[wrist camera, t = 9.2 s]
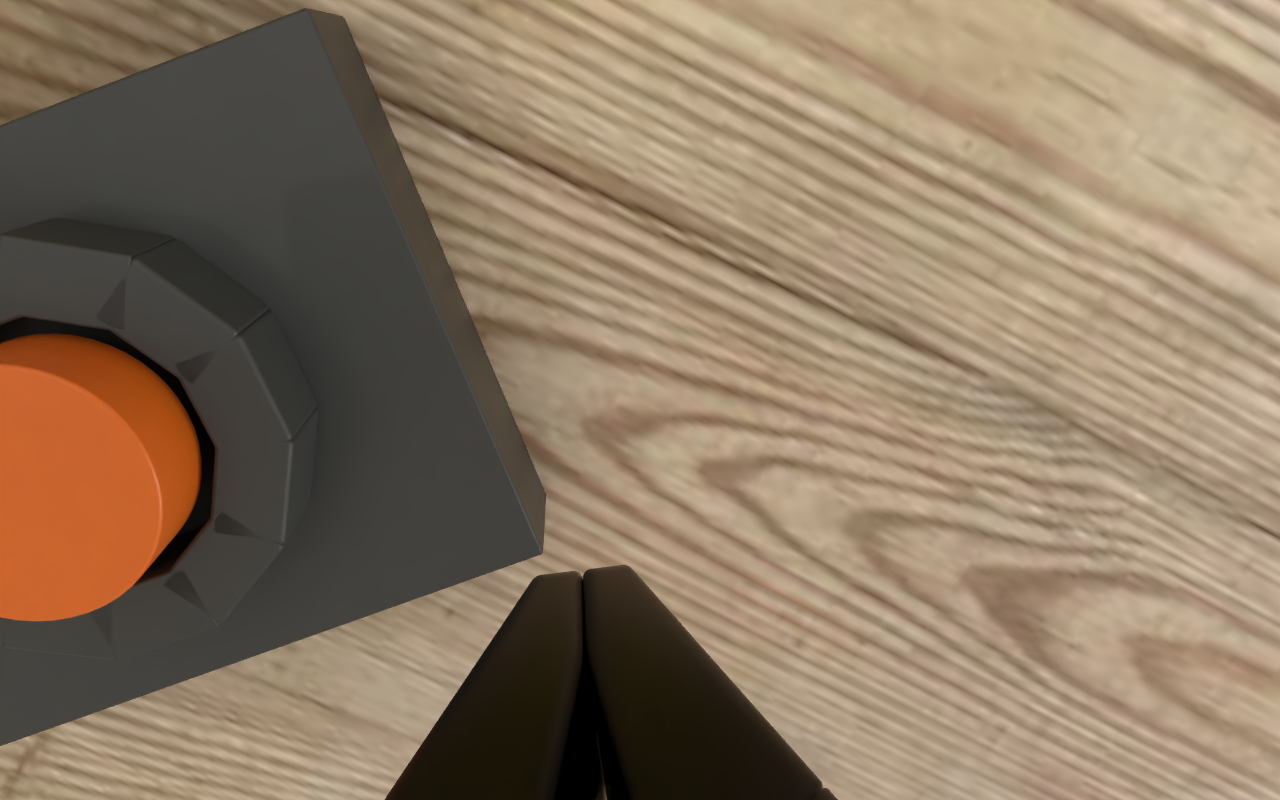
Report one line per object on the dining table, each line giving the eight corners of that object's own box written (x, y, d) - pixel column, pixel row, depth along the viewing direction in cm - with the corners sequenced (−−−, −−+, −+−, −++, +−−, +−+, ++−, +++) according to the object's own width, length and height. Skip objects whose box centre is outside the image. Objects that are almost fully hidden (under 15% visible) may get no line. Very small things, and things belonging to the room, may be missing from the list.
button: (24, 600, 17) (-36, 658, 15) (-114, 384, 16) (-194, 422, 14) (246, 520, 17) (211, 570, 15) (126, 295, 16) (73, 322, 14)
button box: (23, 682, 22) (-109, 831, 18) (-262, 247, 19) (-505, 299, 15) (546, 496, 21) (541, 603, 17) (343, 15, 18) (275, -1, 14)
